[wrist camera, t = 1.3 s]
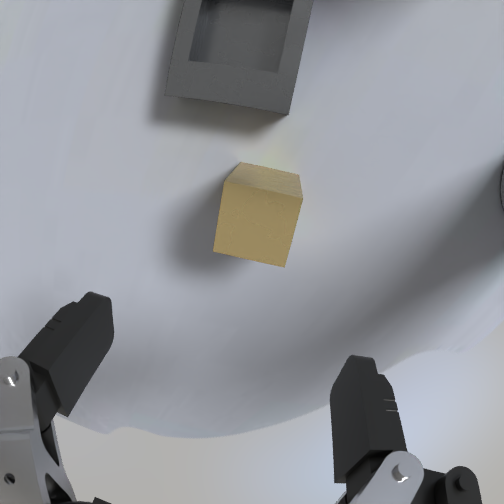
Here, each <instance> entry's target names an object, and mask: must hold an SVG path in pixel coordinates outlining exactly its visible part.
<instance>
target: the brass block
mask: <svg viewBox="0 0 504 504" xmlns="http://www.w3.org/2000/svg"><path fill="white" fill-rule="evenodd" d="M302 201H303V195H302V189H301V183H300V178H299V175H298V174H293V173H289V172H285V171H280V170H276V169H272V168H267V167H262V166H258V165H253V164H248V163H243V162H240V163H239V165H238V166H237V167H236V168H235V169H234V170H233V172H232V173H231V174H230V175H229V176H228V177H227V179H226V180H225V181H224V186H223V192H222V198H221V204H220V210H219V216H218V222H217V228H216V235H215V241H214V247H213V252H217V253H222V254H226V255H231V256H235V257H240V258H244V259H249V260H253V261H257V262H262V263H266V264H271V265H275V266H280V267H284V268H285V264H286V260H287V257H288V253H289V249H290V246H291V242H292V238H293V235H294V231H295V227H296V223H297V220H298V216H299V212H300V208H301V204H302Z"/></svg>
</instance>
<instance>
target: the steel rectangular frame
mask: <svg viewBox="0 0 504 504" xmlns="http://www.w3.org/2000/svg"><path fill="white" fill-rule="evenodd" d="M312 4H313V0H185V2H184V6H183V10H182V14H181V18H180V22H179V26H178V31H177V35H176V39H175V44H174V49H173V53H172V58H171V63H170V68H169V74H168V79H167V85H166V90H165V96H175V97H184V98H192V99H200V100H208V101H215V102H222V103H228V104H234V105H240V106H246V107H251V108H256V109H262V110H267V111H272V112H276V113H281V114H286V115H289V110H290V105H291V101H292V96H293V92H294V87H295V83H296V78H297V74H298V69H299V64H300V60H301V55H302V51H303V46H304V41H305V37H306V32H307V28H308V23H309V18H310V14H311V9H312Z"/></svg>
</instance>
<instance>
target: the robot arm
mask: <svg viewBox="0 0 504 504" xmlns="http://www.w3.org/2000/svg"><path fill="white" fill-rule="evenodd" d="M501 200H502V205H503V209H504V169H503V174H502V179H501ZM113 338H114V326H113V315H112V303H111V299H110V298H109V297H106V296H103V295H99V294H96V293H93V292H88V293H86V294H85V295H84V297H83V298H82V299H81V300H80V301H79V302H78V303H76V302H74V301H73V302H71V303H69V304H68V305H66V306H64V307H62V308H60V310H59V311H58V312H57V313H56V314H55V315H54V316H53V317H52V320H49V322H48V323H47V324H46V325H45V328H44V327H43V328H42V329H41V331H40V332H39V333H38V334H37V335H36V336H35V337H34V339H33V340H32V341H31V342H30V343H29V344H28V346H27V347H26V348H25V349H24V350H23V351H22V353H21V354H20V355H19V356H18V357H13V356H9V357H4V358H2V359H0V504H111V503H108V502H106V501H103V500H101V499H99V498H96V497H95V498H94V501H93V503H90V502H82V501H77V500H76V498H75V494H74V492H73V489H72V486H71V484H70V482H69V479H68V478H67V475H66V473H65V470H64V467H63V464H62V459H61V455H60V451H59V446H58V441H57V436H56V431H55V426H54V421H53V417H54V416H55V414H56V413H57V412H58V413H60V414H62V415H64V416H66V417H68V416H69V414H70V413H71V411H72V409H73V407H74V406H75V404H76V402H77V401H78V399H79V397H80V396H81V394H82V392H83V391H84V389H85V387H86V386H87V384H88V382H89V381H90V379H91V378H92V376H93V374H94V373H95V371H96V370H97V368H98V366H99V365H100V363H101V362H102V360H103V358H104V357H105V355H106V354H107V352H108V351H109V349H110V347H111V345H112V342H113ZM330 409H331V423H332V439H333V459H334V483H346V488H347V489H346V490H347V491H346V492H344V493H343V494H342V496H341V497H340V498H339V499H338V501H337V502H336V503H335V504H482V500H481V495H480V490H479V485H478V481H477V478H476V476H475V474H474V473H473V472H472V471H471V470H470V469H468V468H467V467H463V466H457V467H454V468H453V469H451V470H450V471H449V472H447V473H446V474H444V473H440V472H436V471H431V470H427V469H424V468H423V466H422V464H421V462H420V461H419V459H418V458H417V457H416V456H414V455H413V454H411V453H409V452H408V451H407V448H406V443H405V439H404V434H403V430H402V425H401V421H400V417H399V413H398V412H397V410H398V408H397V404H396V402H395V396H394V393H393V389H392V386H391V385H390V383H389V382H388V380H387V379H386V377H385V376H384V375H382V374H378V373H377V369H376V365H375V361H374V359H373V358H370V357H363V356H356V355H351V356H349V358H348V359H347V361H346V363H345V365H344V366H343V368H342V370H341V372H340V374H339V375H338V377H337V379H336V381H335V382H334V384H333V387H332V390H331V394H330Z"/></svg>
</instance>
